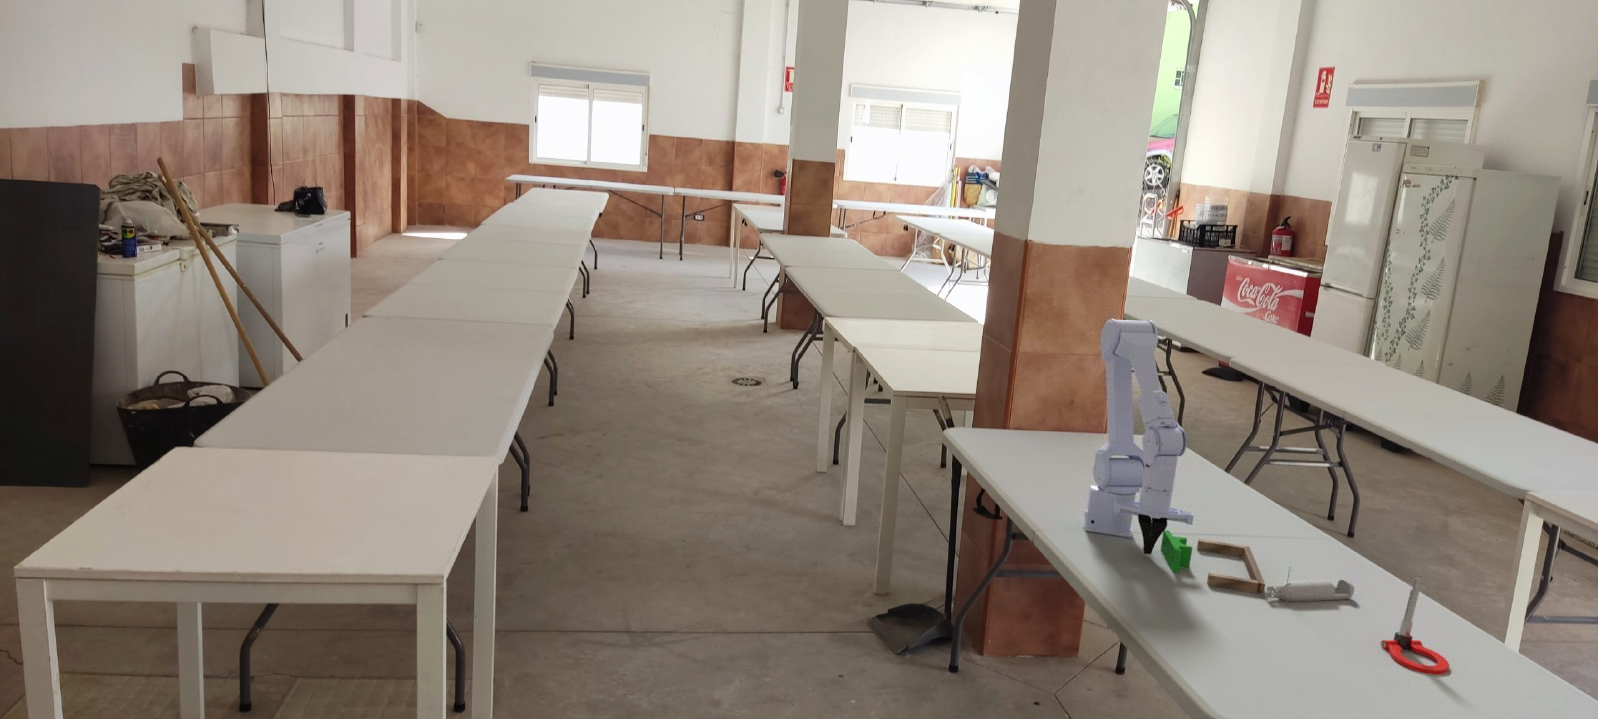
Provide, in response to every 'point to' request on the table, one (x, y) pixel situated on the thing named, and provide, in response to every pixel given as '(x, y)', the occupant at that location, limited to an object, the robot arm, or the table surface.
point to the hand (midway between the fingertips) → (1147, 552)
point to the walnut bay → (1230, 582)
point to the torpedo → (1311, 590)
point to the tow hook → (1413, 642)
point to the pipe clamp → (1176, 551)
